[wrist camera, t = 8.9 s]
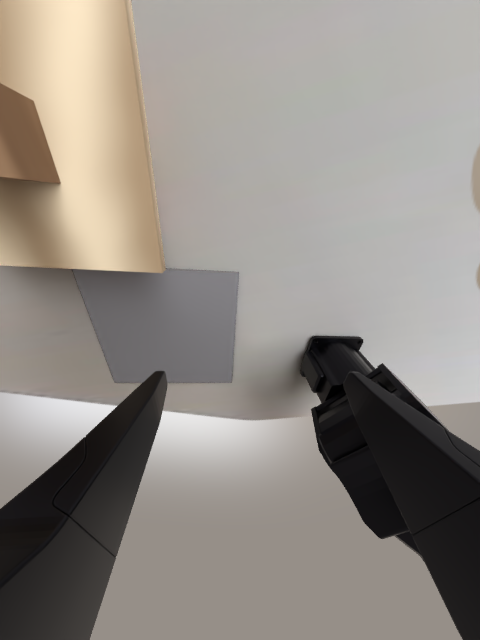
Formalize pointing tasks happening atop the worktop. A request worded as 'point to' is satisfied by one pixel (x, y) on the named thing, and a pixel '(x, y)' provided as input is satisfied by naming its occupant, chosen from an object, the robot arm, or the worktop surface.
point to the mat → (163, 322)
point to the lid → (74, 139)
